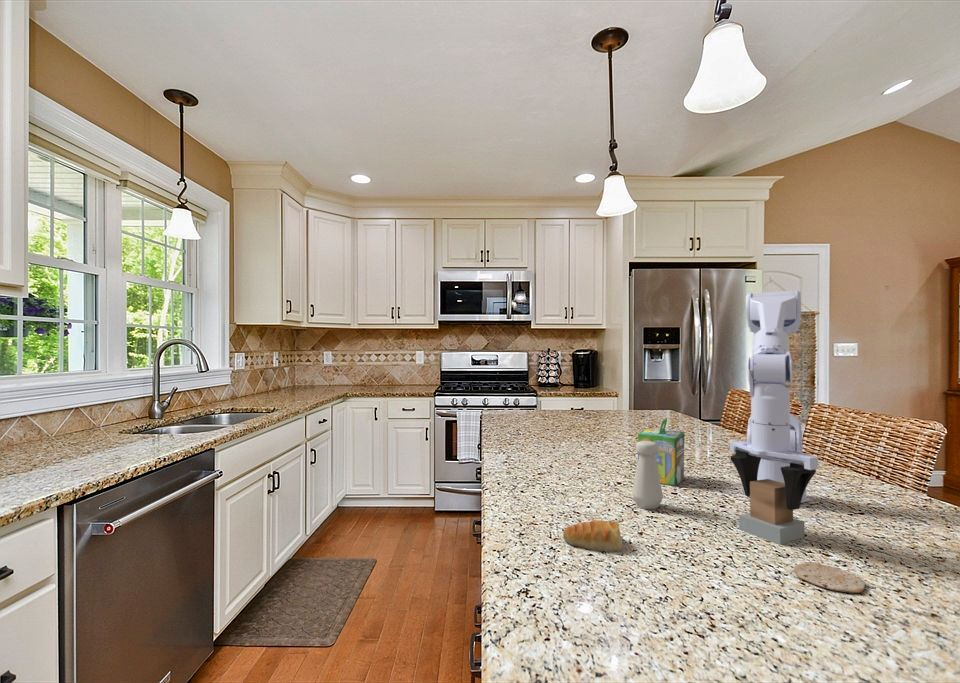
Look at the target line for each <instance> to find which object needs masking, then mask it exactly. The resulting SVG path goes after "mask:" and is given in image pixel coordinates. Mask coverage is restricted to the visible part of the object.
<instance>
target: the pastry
mask: <svg viewBox="0 0 960 683" xmlns="http://www.w3.org/2000/svg"><path fill="white" fill-rule="evenodd" d="M620 531H621V530H620V523H619V522H618V521H616V520H612V521H606V520H601V519H600V520H599V519H598V520H597V519H593V520H590V521H585V522H577V523H576V524H572V525H569V526H567V527H566V528H565V529H564V531H563V533H562V539H564V541H565V542H566V543H568V544H569V545H571V546H574V547H578V548H579V547H580V548H584V549H587V550H592V551H593V550H595V551H603V552H605V551H606V552H620V551H621V550H622V548H623V540H622V536H621V532H620Z"/></svg>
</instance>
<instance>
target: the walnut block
mask: <svg viewBox="0 0 960 683" xmlns="http://www.w3.org/2000/svg"><path fill="white" fill-rule="evenodd" d="M749 513H750V516H752V517H755V518H758V519H760V520H763V521H766V522H769V523H772V524H774V525H776V524H781V523H786V522H791V521H793V518H794V510H789V509H787V505H786V488H785V483H781V482H777V481H773V480H770V479H764V480H757V481H750V497H749Z"/></svg>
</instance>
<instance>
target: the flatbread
mask: <svg viewBox="0 0 960 683" xmlns="http://www.w3.org/2000/svg"><path fill="white" fill-rule="evenodd" d="M793 570H794V573H795V575H796V576H797V577H798V578H799V579H801V580H803V581H804V582H808V583H810V584H813V585H814V586H818V587H820V588H824V589H827V590H831V591H836V592H840V593H841V592H843V593H853V594H860V593H863V590H865V587H866V582H865V581H864V580H863V579H862V578H861V577H860V576H858V575H854V574H853V573H851V572H848V571H846V570H843V569H840V568H836V567H833V566H831V565H827V564H822V563H817V562H816V563H815V562H804V563H803V562H802V563H799V564H798V565H795V566H794V567H793Z"/></svg>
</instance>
